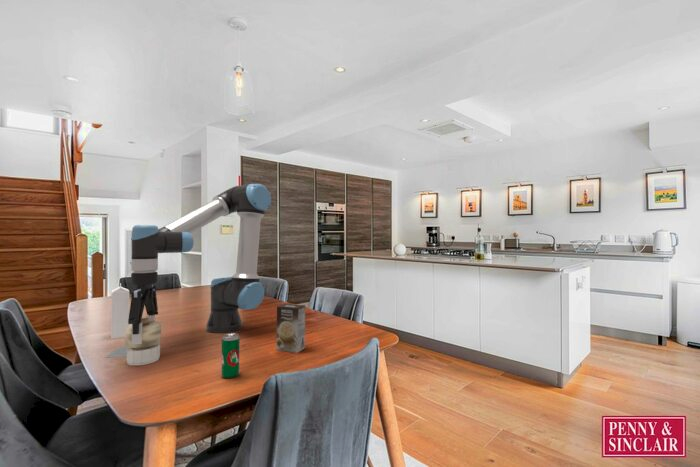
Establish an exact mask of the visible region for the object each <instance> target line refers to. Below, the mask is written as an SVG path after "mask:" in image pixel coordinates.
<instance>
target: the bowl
mask: <svg viewBox="0 0 700 467" xmlns="http://www.w3.org/2000/svg"><path fill="white" fill-rule="evenodd" d="M160 356H161V344H160V343H158V344H156V345H153V346H148V347H142V348H127V357H126V363H127V365H129V366H145V365H149V364H153V363H155V362H157V361H159V360H160Z"/></svg>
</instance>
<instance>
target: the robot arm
mask: <svg viewBox="0 0 700 467" xmlns="http://www.w3.org/2000/svg"><path fill="white" fill-rule="evenodd" d="M271 204H272V195H271V193H270V191H269V190H268V188H267V187H266V186H265V185H263V184H261V183H250V184H249V183H248V184H243V185H235V186H232V187H231V188H230V187H229V188H228V189H227V190H224V191H223V192H221V193H220V194H218V195H216V196H214V197H212V201H209V202H207V203H206V204H203V205H202V206H200V207H198V208H195V210H193V211H191V212H188V213H187V214H185V215H183V216H181V217H179V218H177V219H176V220H173V221H171V222H170V223H167V224H166V225H163V227H160V228H159V227H158V225H154V224H153V225H151V224H150V225H149V224H147V225H146V224H138V225H137V224H136V225H133V227H132V228H131V229H132V230H131V238H130V240H131V261H130V262H129V264H130V266H131V271H132V273H131V274H130V283H131V284H132V285H136V288H135V290H131V293H130V294H131V295H130V298H131V299H130V304H129V319H128V324H129V325H130V324H132V345H134V344H142V323H141V319H142V318H143V314H144V310H145V312H146V315H145V318H149V321H156V316H157V315H159V310H158V309H159V308H158V299H157V298H158V297H157V285H156V284H157V283H158V280H159V279H158V277H159V276H158V272H157V271H158V270H159V259H158V258H159V254H163V253H164V254H175V253H177V254H178V253H181V254H183V253H189V252H190V251H192V249H193V248H194V245H195V244H194V242H195V241H194V236H193V235H192V234H193V233H194V232H196V231H198V230H200V229H202V228H203V227H205V226H207V225H208V224H210V223H212V222H213V221H215V220H217V219H218V218H221V217H227V216H228V215H230V214H234V213H236V214H237V215H238V216H239V218H240V219H239V232H238V244H237V245H238V246H237V255H236V256H237V257H236V267H235V268H236V269H235V273H234V274H233V275H232V276H228V277H220V278H213V279H212V280H211V282H210V313H209V316H208V319H207V323H206V327H205V328H206V329H205V330H206V331H207V332H209V333H215V334H216V333H219V334H220V333H221V334H222V333H229V332H231V333H232V332H235V331H238V330H240V329H242V328H243V322H242V321H243V320H242V318H241V315H240V312H239V309H241V310H247V311H248V310H254V309H256V308H258V307H259V305H260V304H261V303H262V302H263V300H264V297H265V288H264V287H263V285H262V283H261V281H260V280H261V277H260V276H259V275H258V259H259V247H260V232H261V221H262V219H263V218H264V217H265V215H266V214H265V213H266V210H267V209H269V207H270V206H271ZM154 284H155V285H154Z"/></svg>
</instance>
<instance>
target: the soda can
mask: <svg viewBox="0 0 700 467" xmlns="http://www.w3.org/2000/svg"><path fill="white" fill-rule="evenodd" d="M240 340H241V338H240V336H239V333H236V332H231V333H229V332H227V333H224V334H223V335H222V338H221V371H220V372H221V374H220V376H222V378H224V379H232V378H235V377H236V378H237V376H239V374H240V360H241V359H240V355H241V354H240V353H241V351H240V350H241V348H240V347H241V346H240Z"/></svg>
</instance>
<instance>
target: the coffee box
mask: <svg viewBox="0 0 700 467" xmlns="http://www.w3.org/2000/svg"><path fill="white" fill-rule="evenodd" d="M275 340H276V347H275V350H276V351H281V352H289V353H296V354H297V353H299V352H301V351H303V350H304V349H305V348H306V305H305V304H304V305H303V304H296V303H295V304H294V303H283V304H280V305H278V306H276V338H275Z"/></svg>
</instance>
